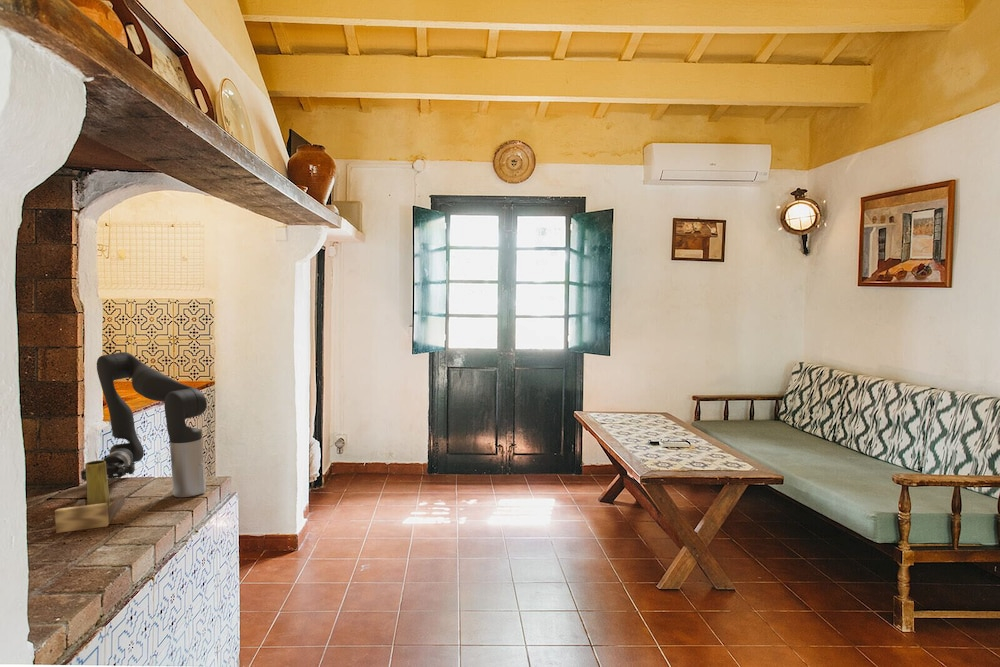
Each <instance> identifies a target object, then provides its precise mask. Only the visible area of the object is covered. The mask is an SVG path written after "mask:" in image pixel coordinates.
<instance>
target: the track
mask: <svg viewBox="0 0 1000 667" xmlns="http://www.w3.org/2000/svg"><path fill="white" fill-rule="evenodd" d="M125 502H126V501H125V494H118V495H117V497H116V498H114V500H113V501H112V503H110V504H111V505H110V507H109V508H108V505H107V503H101V504H93V505H88V504H87V505H86V499H78V501H77V502H76V503H75V504H74V505H72V506H70V507H61V508H56V509H55V510H54V519H55V520H54V521H55V532H56V534H58V533H66V532H67V533H68V532H72V531H82V530H88V529H95V528H103V527H108V526H109V524H110V523H112V520H113V519H114V518H115V516H116V515H117V513H118V512H119V511H120V510H121V509H122V507H123V506H124V504H126V503H125Z"/></svg>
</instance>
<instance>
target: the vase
mask: <svg viewBox="0 0 1000 667" xmlns="http://www.w3.org/2000/svg"><path fill="white" fill-rule="evenodd" d="M85 468H86V480H87V482H86V496H87V497H86V500H87V505H93V504H101V503H107V505H108V508H109V507H110V505H111V504H112V503H111V500H110V499H111V498H110V493H109V492H110V490H109V482H108V481H109V480H108V478H107V469H106V461H104V460H103V459H101V460H98V459H97V460H92V461H88V462H86V463H84V469H85ZM86 480H85V481H86Z"/></svg>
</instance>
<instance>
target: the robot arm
mask: <svg viewBox="0 0 1000 667" xmlns="http://www.w3.org/2000/svg"><path fill="white" fill-rule="evenodd" d="M96 372H97V376H98V380H99V383H100V386H101V390H102V393H103V396H104V400H105V402H106V406H107V408H108V412H109V420H110V425H111V426H110V427H111V434H112V436H113V438H115V439H122V440H126V441H127V442H125V443H118V444H114V445H113V446H111V447H110V449H109V454H108V455H106V456H105V458H103V459H102V460H104V461H106V469H107V479H111V480H112V479H117V478H118V479H121V478H122V477H124V476H126V475H127V474H128V475H133V474H134V473H135V471H136V464H135V463H137V462H140V461H141V460H142V459H143V458H144V455H145V450H144V447H143V445H142V443H141V441H140V439H139V437H138V435H137V431H136V428H135V418H134V413H133V410H132V408H131V407H130V406H129V404H128V403H127V402H126V401H125V400H124V399H123V398H122V397H121V396H120V394H119V393H118V392H117V390H116V388H115V383H114V381H116V380H117V381H118V380H124V379H127V378H128V379H129V378H130V379H131V386H132V388H133V390H134V391H135V392H136V393H137V394H138V395H140V396H142V397H144V398H146V399H148V400H150V401H151V400H152V401H155V402H161V403H164V404H163V406H164V407H163V408H164V415H165V422H166V430H167V435H168V439H169V450H170V462H171V463H170V464H171V477H172V493H173V497H175V498H187V497H188V498H189V497H194V496H198V495H202V494H203V495H204V494H205V493H206V490H207V482H206V466H205V465H206V464H205V459H204V448H203V435H202V430H201V429H200V428H197V427H191V426H188V425H187V424H186V420H187V419H191V418H192V419H193V418H196V417H198V416H201V415H202V414H204V413H205V411H206V410H207V407H208V404H207V403H208V402H207V399H206V396H205V395H204V393H203V392H202V391H200V389H198V388H196V387H192V386H189V385H186V384H183V383H181V382H179V381H177V380H175V379H173V378H172V377H169V376H167V375H165V374H164V373H162V372H160V371H158V370H157V369H154V368H152V367H150V366H148V365H147V364H145V363H143V362H142V361H141V360H140V359H139V358H137V357H136V356H134V355H133V354H132V353H129V352H127V351H125V352H122V351H121V352H116V353H114V352H113V353H109V354H103V355H100V356H99V357H98V358H97V361H96ZM80 477H81V478H80V479H81V480H83V481H86V482H85V483H87V480H86V468H85V467H84V469H83V470H81V471H80Z"/></svg>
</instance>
